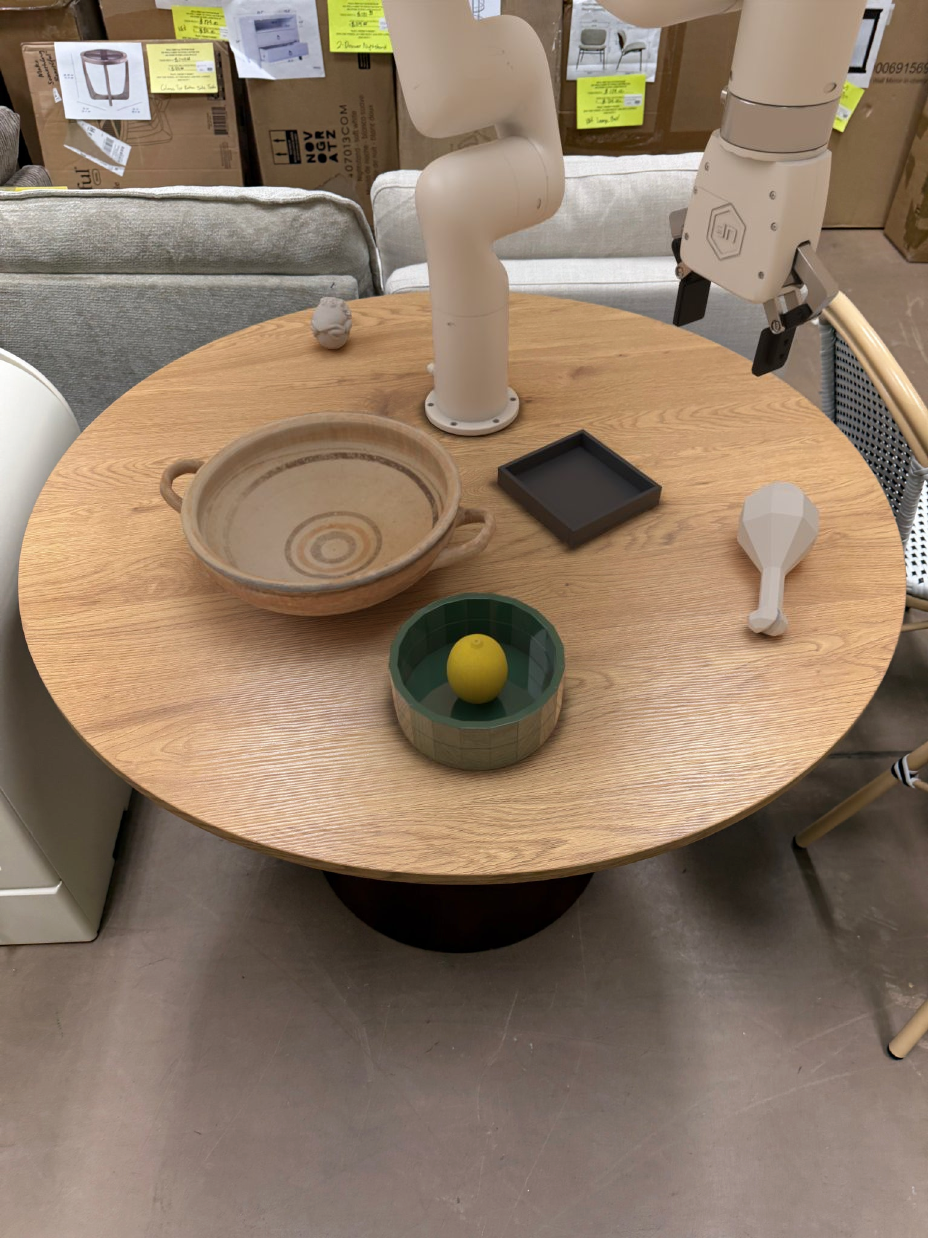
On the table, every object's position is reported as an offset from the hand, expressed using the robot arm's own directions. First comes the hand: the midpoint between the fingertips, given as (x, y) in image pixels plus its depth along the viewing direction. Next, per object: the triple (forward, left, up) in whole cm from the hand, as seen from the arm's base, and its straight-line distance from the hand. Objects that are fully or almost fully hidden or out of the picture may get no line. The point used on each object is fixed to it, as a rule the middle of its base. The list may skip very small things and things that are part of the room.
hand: (726, 345), depth 70 cm
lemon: (+3, -28, -26) cm, 38 cm away
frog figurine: (-63, -8, -26) cm, 69 cm away
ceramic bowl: (-22, -30, -26) cm, 46 cm away
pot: (+3, -28, -26) cm, 38 cm away
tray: (-15, -1, -26) cm, 30 cm away
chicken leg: (+8, +6, -26) cm, 28 cm away
